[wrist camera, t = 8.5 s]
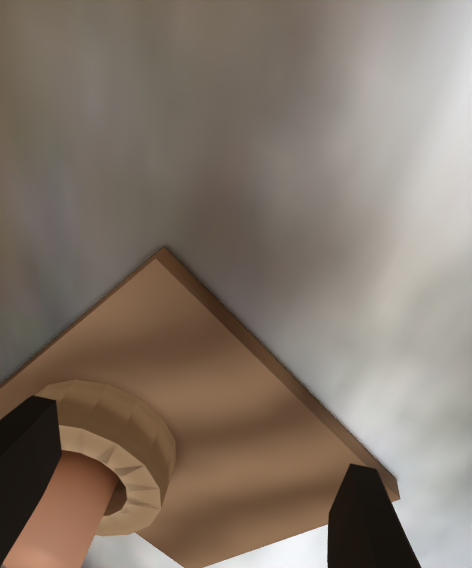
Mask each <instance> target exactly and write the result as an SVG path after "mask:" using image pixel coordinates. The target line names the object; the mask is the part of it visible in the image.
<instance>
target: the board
mask: <svg viewBox="0 0 472 568" xmlns="http://www.w3.org/2000/svg"><path fill="white" fill-rule="evenodd" d="M71 380H82V381H89V382H96V383H102V384H108V385H110V386H113V387H115V388H117V389H119V390H122V391H124V392H126V393H128V394H131V395H133V396H135V397H137V398H139V399H140V400H141V401H143V402H144V403H145V404H146V405H147V406H149V407H150V408H151V409H152V410H153V411H155V412H156V413H157V414H158V415H159V416H160V417H162V418H163V420H164V422H165V423H166V425H167V427H168V429H169V430H170V432H171V434H172V436H173V437H174V439H175V445H176V463H175V466H174V469H173V473H172V476H171V479H170V482H169V485H168V489H167V492H166V495H165V498H164V502H163V505H162V508H161V510H160V512H159V513H158V515H157V516H156V517H155V519H154V520H153V522H152V523H151V525H150V526H147V527H145V528H143V529H141V530H138V531H136V532H135V533H136V534H138V535H139V536H141V537H142V538H143V539H145V540H146V541H148V542H149V543H150V544H152V545H153V546H155V547H156V548H157V549H159V550H160V551H162V552H163V553H164V554H166V555H167V556H169V557H170V558H171V559H173V560H174V561H176V562H177V563H178V564H180V565H181V566H183V567H184V568H203V567H206V566H209V565H212V564H215V563H218V562H220V561H223V560H226V559H229V558H232V557H235V556H238V555H241V554H244V553H246V552H249V551H252V550H255V549H258V548H261V547H264V546H267V545H269V544H272V543H275V542H278V541H281V540H284V539H287V538H290V537H293V536H295V535H298V534H301V533H304V532H307V531H310V530H313V529H316V528H318V527H321V526H324V525H327V524H328V517H329V511H330V509H331V507H332V504H333V502H334V500H335V497H336V495H337V493H338V490H339V488H340V486H341V483H342V481H343V479H344V476H345V474H346V472H347V469H348V467H349V465H350V463H352V464H356V465H361V466H366V467H370V468H375V469H377V471H378V472H379V474H380V476H381V479H382V481H383V484H384V486H385V488H386V491H387V493H388V496H389V498H390V500H391V502H393V501H396V500H399V499H400V495H399V490H398V485H397V480H396V479H395V478H394V477H393V476H392V475H391V474H390V473H389V472H388V471H387V470H386V469H385V468H384V467H383V466H382V465H381V464H380V463H379V462H378V461H377V460H376V459H375V458H374V457H373V456H372V455H371V454H370V453H369V452H368V451H367V450H366V449H365V448H364V447H363V446H362V445H361V444H360V443H359V442H358V441H357V440H356V439H355V438H354V437H353V436H352V435H351V434H350V433H349V432H348V431H347V430H346V429H345V428H344V427H343V426H342V425H341V424H340V423H339V422H338V421H337V420H336V419H335V418H334V417H333V416H332V415H331V414H330V413H329V412H328V411H327V410H326V409H325V408H324V407H323V406H322V405H321V404H320V403H319V402H318V401H317V400H316V399H315V398H314V397H313V396H312V395H311V394H310V393H309V392H308V391H307V390H306V389H305V388H304V387H303V386H302V385H301V384H300V383H299V382H298V381H297V380H296V379H295V378H294V377H293V376H292V375H291V374H290V373H289V372H288V371H287V370H286V369H285V368H284V367H283V366H282V365H281V364H280V363H279V362H278V361H277V360H276V359H275V358H274V357H273V356H272V355H271V354H270V353H269V352H268V351H267V350H266V349H265V348H264V347H263V346H262V345H261V344H260V343H259V342H258V341H257V340H256V339H255V338H254V337H253V336H252V335H251V334H250V333H249V332H248V331H247V330H246V329H245V328H244V327H243V326H242V325H241V324H240V322H239V321H238V320H237V319H236V318H235V317H234V316H233V315H232V314H231V313H230V312H229V311H228V310H227V309H226V308H225V307H224V306H223V305H222V304H221V303H220V302H219V301H218V300H217V299H216V298H215V297H214V296H213V295H212V294H211V293H210V292H209V291H208V290H207V289H206V288H205V287H204V286H203V285H202V284H201V283H200V282H199V281H198V280H197V279H196V278H195V277H194V276H193V275H192V274H191V273H190V272H189V271H188V270H187V269H186V268H185V267H184V266H183V265H182V264H181V263H180V262H179V261H178V260H177V259H176V258H175V257H174V256H173V255H172V254H171V253H170V252H169V251H168V250H167V249H166V248H165V247H162V248H161V249H160V250H159V251H158V252H157V253H155V254H154V255H153V256H152V257H151V258H150V259H148V260H147V261H146V262H145V263H144V264H142V265H141V266H140V267H139V268H138V269H137V270H135V271H134V272H133V273H132V274H131V275H129V276H128V277H127V278H126V279H125V280H124V281H122V282H121V283H120V284H119V285H118V286H117V287H115V288H114V289H113V290H112V291H111V292H109V293H108V294H107V295H106V296H105V297H104V298H102V299H101V300H100V301H99V302H98V303H97V304H95V305H94V306H93V307H92V308H91V309H89V310H88V311H87V312H86V313H85V314H84V315H82V316H81V317H80V318H79V319H78V320H76V321H75V322H74V323H73V324H72V325H71V326H69V327H68V328H67V329H66V330H65V331H64V332H62V333H61V334H60V335H59V336H58V337H56V338H55V339H54V340H53V341H52V342H51V343H49V344H48V345H47V346H46V347H45V348H44V349H42V350H41V351H40V352H39V353H38V354H36V355H35V356H34V357H33V358H32V359H31V360H29V361H28V362H27V363H26V364H25V365H24V366H22V367H21V368H20V369H19V370H18V371H16V372H15V373H14V374H13V375H12V376H11V377H9V378H8V379H7V380H6V381H5V382H3V383H2V384H1V385H0V419H1V418H3V417H4V416H5V415H7V414H8V413H9V412H10V411H12V410H13V409H14V408H16V407H17V406H18V405H19V404H21V403H22V402H23V401H25V400H26V399H27V398H28V397H30V396H32V395H36V394H37V393H38V392H40V391H41V390H42V389H43V388H45V387H46V386H47V385H50V384H55V383H60V382H65V381H71Z"/></svg>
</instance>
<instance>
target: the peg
mask: <svg viewBox="0 0 472 568" xmlns="http://www.w3.org/2000/svg"><path fill="white" fill-rule="evenodd" d="M118 480H119V476H118V475H117V474H116V473H115V472H114V471H112V470H111V469H110V468H108V467H107V466H106V465H104V464H103V463H102V462H101V461H98V460H96V459H94V458H91V457H89V456H87V455H84V454H82V453H79V452H73V451H66V450H62V456H61V458H60V460H59V462H58V465H57V467H56V469H55V471H54V474H53V476H52V478H51V480H50V482H49V484H48V486H47V488H46V491H45V493H44V495H43V497H42V498H41V500H40V502H39V503H38V505H37V507H36V509H35V510H34V512H33V514H32V515H31V517H30V519H29V520H28V522H27V524H26V525H25V527H24V529H23V530H22V532H21V534H20V535H19V537H18V539H17V540H16V542H15V543H14V545H13V547H12V548H11V550H10V552H9V553H8V555H7V557H6V558H5V560H4V562H3V564H4V565H5V566H6V568H81V565H82V563H83V561H84V559H85V556H86V554H87V552H88V549H89V547H90V545H91V542H92V540H93V538H94V536H95V533H96V531H97V529H98V526H99V524H100V522H101V519H102V517H103V515H104V513H105V510H106V508H107V506H108V503H109V501H110V499H111V496H112V494H113V492H114V489H115V487H116V485H117V483H118Z"/></svg>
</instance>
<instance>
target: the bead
mask: <svg viewBox="0 0 472 568" xmlns="http://www.w3.org/2000/svg"><path fill="white" fill-rule="evenodd" d="M34 396H39V397H43V398H48V399H53V400H56V404H57V413H58V422H59V431H60V440H61V449H62V450H66V451H73V452H79V453H82V454H84V455H87V456H89V457H91V458H94V459H96V460H98V461H101V462H102V463H103V464H104V465H106V466H107V467H108V468H110V469H111V470H112V471H114V472H115V473H116V474H117V475H118V476H119V480H118V483H117V485H116V487H115V489H114V492H113V494H112V496H111V499H110V501H109V503H108V506H107V508H106V510H105V513H104V515H103V517H102V519H101V522H100V524H99V526H98V529H97V531H96V533H95V535H99V536H113V535H128V534H132V533H134V532H136V531H138V530H141V529H143V528H145V527H147V526H150V525H151V523H152V522H153V520H154V519H155V517H156V516H157V515H158V513H159V512H160V510H161V508H162V505H163V502H164V498H165V495H166V492H167V489H168V485H169V482H170V479H171V476H172V473H173V469H174V466H175V463H176V445H175V439H174V437H173V436H172V434H171V432H170V430H169V429H168V427H167V425H166V423H165V422H164V420H163V418H162V417H160V416H159V415H158V414H157V413H156V412H155V411H153V410H152V409H151V408H150V407H149V406H147V405H146V404H145V403H144V402H143V401H141V400H140V399H139V398H137V397H135V396H133V395H131V394H128V393H126V392H124V391H122V390H119V389H117V388H115V387H113V386H110V385H108V384H102V383H96V382H89V381H82V380H71V381H65V382H60V383H55V384H50V385H47V386H46V387H45V388H43V389H42V390H41V391H40V392H38V393H37V394H36V395H34Z"/></svg>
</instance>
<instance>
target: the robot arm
mask: <svg viewBox="0 0 472 568" xmlns="http://www.w3.org/2000/svg"><path fill="white" fill-rule="evenodd" d="M61 456H62V449H61V440H60V431H59V422H58V413H57V404H56V400H53V399H48V398H43V397H39V396H34V395H32V396H30V397H28V398H27V399H26V400H25V401H23V402H22V403H21V404H19V405H18V406H17V407H16V408H14V409H13V410H12V411H10V412H9V413H8V414H7V415H5V416H4V417H3V418H1V419H0V567H1V565H2V563H3V562H4V560H5V558H6V557H7V555H8V553H9V552H10V550H11V548H12V547H13V545H14V543H15V542H16V540H17V539H18V537H19V535H20V534H21V532H22V530H23V529H24V527H25V525H26V524H27V522H28V520H29V519H30V517H31V515H32V514H33V512H34V510H35V509H36V507H37V505H38V503H39V502H40V500H41V498H42V497H43V495H44V493H45V491H46V488H47V486H48V484H49V482H50V480H51V478H52V476H53V474H54V471H55V469H56V467H57V465H58V462H59V460H60V458H61ZM327 562H328V568H421V566H420V564H419V562H418V560H417V558H416V556H415V554H414V552H413V549H412V547H411V545H410V543H409V541H408V539H407V537H406V534H405V532H404V530H403V528H402V526H401V523H400V521H399V519H398V517H397V514H396V512H395V510H394V507H393V505H392V503H391V500H390V498H389V496H388V493H387V491H386V488H385V486H384V484H383V481H382V479H381V476H380V474H379V472H378V471H377V469H375V468H370V467H366V466H361V465H356V464H352V463H350V465H349V467H348V469H347V472H346V474H345V476H344V479H343V481H342V483H341V486H340V488H339V490H338V493H337V495H336V497H335V500H334V502H333V504H332V507H331V509H330V511H329V517H328V554H327Z"/></svg>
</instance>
